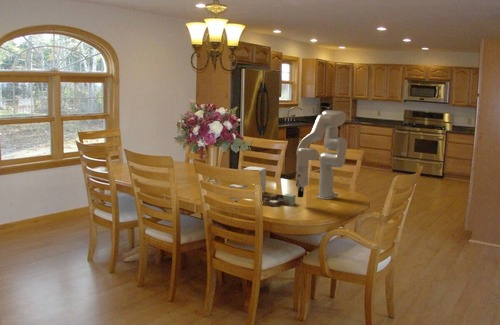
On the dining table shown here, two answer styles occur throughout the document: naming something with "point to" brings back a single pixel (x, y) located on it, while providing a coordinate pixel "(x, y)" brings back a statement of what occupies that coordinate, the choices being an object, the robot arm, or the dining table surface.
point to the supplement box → (263, 176)
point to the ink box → (235, 187)
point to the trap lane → (277, 198)
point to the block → (289, 199)
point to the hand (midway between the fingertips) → (300, 196)
